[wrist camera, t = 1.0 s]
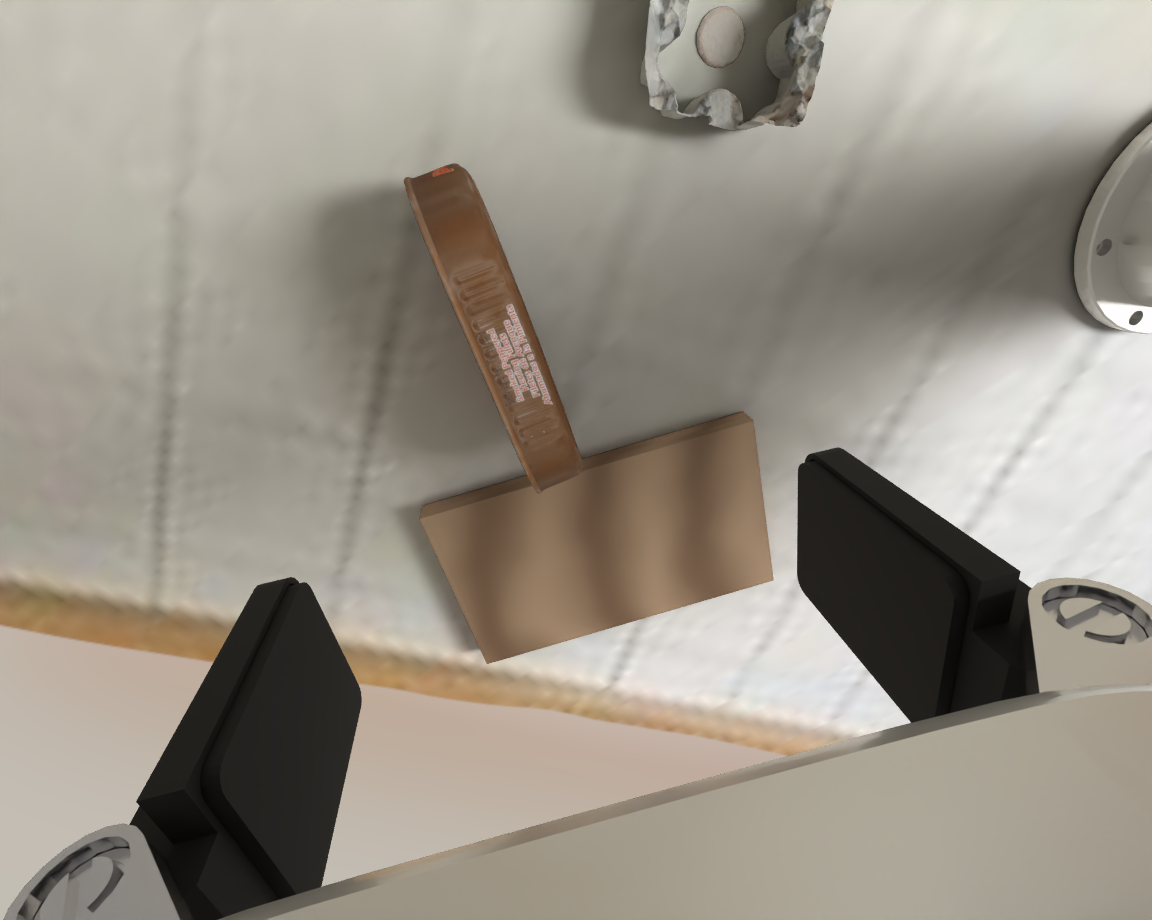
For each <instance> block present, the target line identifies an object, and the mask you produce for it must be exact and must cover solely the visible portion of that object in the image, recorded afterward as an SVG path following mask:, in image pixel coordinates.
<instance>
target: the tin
mask: <svg viewBox="0 0 1152 920" xmlns="http://www.w3.org/2000/svg"><path fill="white" fill-rule="evenodd" d="M404 184H405V187H406V191H407V194H408V198H409V200H410V205H411V207H412V210H413V212H414V215H415V217H416V220H417V222H418V225H419V227H420V230H421V232H422V235H423V238H424V240H425V243H426V246H427V248H428V250H429V253H430V255H431V257H432V259H433V262H434V265H435V267H436V269H437V272H438V275H439V276H440V278H441V281H442V283H443V286H444V288H445V291H446V293H447V295H448V298H449V300H450V302H451V304H452V306H453V309H454V311H455V314H456V316H457V318H458V320H459V323H460V325H461V327H462V329H463V332H464V334H465V337H466V339H467V341H468V343H469V346H470V348H471V350H472V352H473V354H474V357H475V359H476V362H477V363H478V366H479V368H480V370H481V372H482V375H483V377H484V380H485V382H486V384H487V386H488V389H489V391H490V393H491V395H492V398H493V400H494V402H495V404H496V407H497V409H498V412H499V414H500V416H501V418H502V421H503V423H504V425H505V427H506V430H507V432H508V435H509V437H510V439H511V442H512V444H513V446H514V448H515V451H516V453H517V455H518V458H519V460H520V462H521V464H522V466H523V468H524V470H525V472H526V474H527V476H528V479H529V481H530V482H531V484H532V486H533V488H534V490H535V491H536V493H538V494H540V493H541V492H542V491H543V490H545V489H547V488H549V487H552V486H554V485H557V484H559V483H561V482H564V481H566V480H569V479H571V478H573V477H575V476H577V475H579V474H580V473H582V471H583V464H582V460H581V456H580V453H579V450H578V447H577V445H576V442H575V439H574V436H573V433H572V430H571V428H570V425H569V422H568V419H567V416H566V414H565V411H564V408H563V406H562V403H561V400H560V397H559V395H558V392H557V389H556V387H555V384H554V381H553V378H552V376H551V373H550V370H549V368H548V365H547V362H546V359H545V357H544V354H543V351H542V349H541V346H540V343H539V341H538V338H537V335H536V333H535V330H534V328H533V325H532V323H531V320H530V317H529V315H528V312H527V310H526V307H525V305H524V302H523V299H522V297H521V294H520V292H519V290H518V287H517V284H516V282H515V279H514V277H513V274H512V272H511V269H510V266H509V264H508V261H507V259H506V256H505V254H504V251H503V249H502V246H501V244H500V241H499V239H498V236H497V234H496V231H495V229H494V226H493V224H492V221H491V219H490V217H489V214H488V212H487V209H486V207H485V205H484V202H483V200H482V198H481V196H480V193H479V191H478V189H477V187H476V185H475V183H474V181H473V179H472V177H471V176H470V174H469V173H468V172H467V171H466V169H464V168H463V167H461V166H459V165H458V164H450V165H447V166H443V167H441V168H439V169H436V170H434V171H431V172H429V173H426V174H424V175H421V176H418V177H415V178H410V177H406V178H405V179H404Z"/></svg>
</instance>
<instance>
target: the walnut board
mask: <svg viewBox="0 0 1152 920" xmlns="http://www.w3.org/2000/svg"><path fill="white" fill-rule="evenodd" d="M581 460H582V464H583V471H582V473H580V474H579V475H577V476H575V477H573V478H571V479H569V480H566V481H564V482H561V483H559V484H557V485H554V486H552V487H549V488H547V489H545V490H543V491H542V492H541V493H540V494H538V493H536V491H535V490H534V488H533V486H532V484H531V482H530V481H529V479H528V476H527V475H526V476H523V477H519V478H516V479H512V480H509V481H506V482H502V483H499V484H495V485H492V486H489V487H485V488H482V489H478V490H475V491H471V492H468V493H465V494H461V495H458V496H454V497H451V498H448V499H444V500H441V501H437V502H434V503H431V504H427V505H424V506H422V510H421V514H420V518H419V520H420V522H421V524H422V526H423V528H424V530H425V532H426V535H427V537H428V539H429V541H430V543H431V545H432V547H433V550H434V552H435V554H436V556H437V558H438V560H439V562H440V564H441V567H442V569H443V571H444V573H445V575H446V577H447V579H448V582H449V584H450V586H451V588H452V590H453V592H454V594H455V597H456V599H457V601H458V603H459V605H460V607H461V609H462V612H463V614H464V616H465V618H466V620H467V622H468V624H469V627H470V629H471V631H472V633H473V635H474V637H475V639H476V642H477V644H478V646H479V648H480V650H481V652H482V654H483V656H484V659H485V661H486V663H487V664H489V663H492V662H496V661H499V660H503V659H506V658H510V657H513V656H516V655H520V654H523V653H527V652H530V651H533V650H537V649H540V648H544V647H547V646H551V645H554V644H557V643H561V642H564V641H568V640H571V639H574V638H578V637H581V636H585V635H588V634H592V633H595V632H598V631H602V630H605V629H609V628H612V627H616V626H619V625H622V624H626V623H629V622H633V621H636V620H639V619H643V618H646V617H650V616H653V615H657V614H660V613H663V612H667V611H670V610H674V609H677V608H681V607H684V606H687V605H691V604H694V603H698V602H701V601H704V600H708V599H711V598H715V597H718V596H722V595H725V594H728V593H732V592H735V591H739V590H742V589H746V588H749V587H752V586H756V585H759V584H763V583H766V582H769V581H773V572H772V564H771V556H770V548H769V540H768V533H767V525H766V517H765V509H764V501H763V493H762V485H761V477H760V469H759V462H758V454H757V446H756V438H755V430H754V422H753V420H752V419H751V418H750V417H748V416H747V415H746V414H745V413H744V412H740V413H737V414H734V415H730V416H727V417H723V418H720V419H717V420H713V421H710V422H706V423H703V424H700V425H696V426H693V427H689V428H686V429H683V430H679V431H676V432H672V433H669V434H665V435H662V436H659V437H655V438H652V439H648V440H645V441H642V442H638V443H635V444H631V445H628V446H625V447H621V448H618V449H614V450H611V451H608V452H604V453H601V454H597V455H594V456H591V457H587V458H584V459H581Z"/></svg>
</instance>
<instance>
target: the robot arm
mask: <svg viewBox="0 0 1152 920" xmlns="http://www.w3.org/2000/svg"><path fill="white" fill-rule="evenodd" d="M1074 277H1075V282H1076V287H1077V291H1078V295H1079V297H1080V299H1081V301H1082V303H1083V305H1084V307H1085V308H1086V310H1087V311H1088V312H1089V313H1090V314H1091V315H1092V316H1093V317H1094V318H1095V319H1096V320H1098V321H1099V322H1101V323H1103V324H1105V325H1106V326H1108V327H1112V328H1116V329H1119V330H1123V331H1127V332H1133V333H1142V334H1151V333H1152V122H1151V123H1150V124H1149V125H1148V126H1147V127H1146V128H1145V129H1144V130H1143V131H1142V132H1141V133H1139V134H1138V135H1137V136H1136V137H1135V138H1134V139H1133V140H1132V141H1131V142H1130V144H1129V145H1128V146H1127V147H1126V148H1125V150H1124V151H1123V152H1122V153H1121V154H1120V155H1119V157H1118V158H1117V159H1116V160H1115V161H1114V163H1113V164H1112V166H1111V167H1110V169H1109V170H1108V172H1107V173H1106V175H1105V176H1104V178H1103V179H1102V181H1101V182H1100V184H1099V185H1098V187H1097V189H1096V191H1095V193H1094V195H1093V197H1092V199H1091V201H1090V203H1089V205H1088V207H1087V209H1086V212H1085V215H1084V218H1083V221H1082V224H1081V227H1080V230H1079V233H1078V238H1077V243H1076V249H1075V254H1074ZM797 576H798V581H799V584H800V587H801V589H802V591H803V592H804V594H805V595H806V596H807V597H808V598H809V600H810V601H811V602H812V603H813V604H814V606H815V607H816V608H817V609H818V611H819V612H820V613H821V614H822V615H823V617H824V618H825V619H826V620H827V621H828V623H829V624H830V625H831V626H832V627H833V629H834V630H835V631H836V632H837V633H838V635H839V636H840V637H841V638H842V640H843V641H844V642H845V643H846V644H847V646H848V647H849V648H850V649H851V650H852V652H853V653H854V654H855V655H856V656H857V658H858V659H859V660H860V661H861V662H862V664H863V665H864V666H865V667H866V668H867V670H868V671H869V672H870V673H871V675H872V676H873V677H874V678H875V679H876V681H877V682H878V683H879V684H880V685H881V687H882V688H883V689H884V690H885V691H886V693H887V694H888V695H889V696H890V697H891V699H892V700H893V701H894V702H895V704H896V705H897V706H898V707H899V708H900V710H901V711H902V712H903V713H904V714H905V716H906V717H907V718H908V719H909V720H910V722H911V723H909V724H905V725H901V726H897V727H894V728H890V729H886V730H883V731H879V732H875V733H871V734H868V735H864V736H860V737H857V738H853V739H849V740H846V741H842V742H838V743H835V744H831V745H827V746H823V747H820V748H816V749H812V750H809V751H805V752H801V753H798V754H794V755H790V756H786V757H783V758H779V759H776V760H772V761H768V762H764V763H761V764H757V765H753V766H750V767H746V768H742V769H738V770H735V771H731V772H727V773H724V774H720V775H717V776H713V777H709V778H706V779H702V780H699V781H695V782H691V783H688V784H684V785H680V786H677V787H673V788H670V789H666V790H662V791H659V792H655V793H651V794H648V795H644V796H641V797H637V798H633V799H630V800H626V801H622V802H619V803H615V804H612V805H608V806H605V807H601V808H597V809H594V810H590V811H587V812H583V813H579V814H576V815H572V816H569V817H565V818H561V819H558V820H554V821H551V822H547V823H543V824H540V825H536V826H533V827H529V828H525V829H522V830H518V831H515V832H512V833H508V834H504V835H501V836H497V837H494V838H490V839H487V840H483V841H479V842H476V843H473V844H469V845H465V846H462V847H458V848H455V849H451V850H448V851H444V852H441V853H437V854H434V855H430V856H426V857H423V858H419V859H416V860H412V861H409V862H405V863H402V864H398V865H395V866H391V867H388V868H384V869H381V870H377V871H373V872H370V873H367V874H363V875H360V876H357V877H353V878H350V879H346V880H343V881H340V882H337V883H333V884H330V885H326V886H323V887H321V886H322V881H323V877H324V872H325V868H326V863H327V858H328V854H329V849H330V845H331V840H332V836H333V831H334V827H335V822H336V817H337V813H338V808H339V804H340V800H341V795H342V791H343V785H344V782H345V777H346V772H347V768H348V763H349V759H350V754H351V749H352V745H353V741H354V736H355V732H356V727H357V722H358V718H359V713H360V709H361V691H360V688H359V685H358V683H357V681H356V679H355V676H354V674H353V672H352V670H351V668H350V666H349V664H348V662H347V660H346V658H345V656H344V654H343V652H342V650H341V648H340V646H339V644H338V642H337V640H336V638H335V636H334V634H333V632H332V630H331V628H330V626H329V624H328V622H327V620H326V617H325V615H324V613H323V611H322V609H321V607H320V605H319V603H318V601H317V599H316V597H315V595H314V593H313V591H312V589H311V587H310V586H309V585H308V584H307V583H305V582H303V583H299V582H298V581H297V580H296V579H295V578H292V577H290V578H286V579H281V580H277V581H273V582H269V583H264V584H261V585H258V586H257V587H256V588H255V589H254V591H253V593H252V595H251V596H250V598H249V600H248V602H247V604H246V605H245V607H244V609H243V611H242V613H241V614H240V616H239V618H238V620H237V621H236V623H235V625H234V627H233V629H232V630H231V632H230V634H229V636H228V638H227V639H226V641H225V643H224V645H223V647H222V648H221V650H220V652H219V654H218V656H217V657H216V659H215V661H214V663H213V665H212V666H211V668H210V670H209V672H208V674H207V675H206V677H205V679H204V681H203V683H202V684H201V686H200V688H199V690H198V692H197V694H196V695H195V697H194V699H193V701H192V702H191V704H190V706H189V708H188V710H187V711H186V713H185V715H184V717H183V718H182V720H181V722H180V724H179V726H178V727H177V729H176V732H175V733H174V735H173V737H172V738H171V740H170V742H169V744H168V746H167V747H166V749H165V751H164V753H163V755H162V756H161V758H160V760H159V762H158V763H157V765H156V767H155V769H154V771H153V772H152V774H151V776H150V778H149V780H148V781H147V783H146V785H145V787H144V788H143V790H142V792H141V794H140V796H139V798H138V799H137V801H136V802H137V803H138V804H139V808H138V810H137V812H136V814H135V815H134V817H133V819H132V821H131V823H130V825H127V824H118V825H113V826H108V827H105V828H102V829H100V830H98V831H95V832H93V833H91V834H88V835H86V836H84V837H83V838H81V839H80V840H78V841H77V842H75V843H73V844H72V845H70V846H69V847H67V848H65V849H64V850H63V851H62V852H60V853H59V854H58V855H57V856H55V857H54V858H53V859H52V860H51V861H49V862H48V863H47V864H46V865H45V866H43V867H42V869H41V870H40V871H39V872H38V873H37V874H36V875H35V876H34V877H33V878H32V879H31V880H30V881H29V882H28V883H27V884H26V885H25V886H24V888H23V889H22V890H21V892H20V893H19V895H18V896H17V897H16V899H15V900H14V902H13V903H12V904H11V906H10V907H9V909H8V911H7V913H6V915H5V917H4V919H3V920H1152V605H1150V604H1149V603H1148V602H1146V601H1144V600H1143V599H1141V598H1139V597H1137V596H1135V595H1133V594H1132V593H1130V592H1128V591H1125V590H1122V589H1119V588H1117V587H1114V586H1111V585H1109V584H1105V583H1101V582H1096V581H1092V580H1088V579H1077V578H1057V579H1049V580H1046V581H1043V582H1040V583H1037V584H1036V585H1035V586H1034V587H1033V588H1030V587H1029V586H1027V585H1026V584H1025V583H1023V582H1022V581H1020V580H1019V576H1020V571H1019V570H1018V569H1016V568H1015V567H1013V566H1012V565H1010V564H1009V563H1007V562H1006V561H1005V560H1003V559H1002V558H1000V557H999V556H997V555H996V554H994V553H993V552H991V551H990V550H989V549H987V548H986V547H984V546H983V545H981V544H980V543H978V542H977V541H976V540H974V539H973V538H971V537H970V536H968V535H967V534H965V533H964V532H962V531H961V530H960V529H958V528H957V527H955V526H954V525H952V524H951V523H949V522H948V521H947V520H945V519H944V518H942V517H941V516H939V515H938V514H936V513H935V512H933V511H932V510H931V509H929V508H928V507H926V506H925V505H923V504H922V503H920V502H919V501H918V500H916V499H915V498H913V497H912V496H910V495H909V494H907V493H906V492H904V491H903V490H902V489H900V488H899V487H897V486H896V485H894V484H893V483H891V482H890V481H889V480H887V479H886V478H884V477H883V476H881V475H880V474H878V473H877V472H876V471H874V470H873V469H871V468H870V467H868V466H867V465H865V464H864V463H862V462H861V461H860V460H858V459H857V458H855V457H854V456H852V455H851V454H849V453H848V452H847V451H845V450H844V449H841V448H833V449H829V450H825V451H821V452H816V453H812V454H809V455H808V456H807V458H806V460H805V463H802V464H801V465H800V466H799V468H798V536H797Z"/></svg>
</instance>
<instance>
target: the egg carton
mask: <svg viewBox="0 0 1152 920" xmlns="http://www.w3.org/2000/svg"><path fill="white" fill-rule="evenodd" d="M833 1H834V0H797V8H796V13H795V14H794V15H792V16H790V17H789V18H787V19H785V20H784V21H783V22H781V23H780V24H779V25H778V26H777V27H776V28H775V29H774V30H773V32H772V33H771V35H770V36H769V38H768V41H767V44H766V62H767V65H768V68H769V70H770V71H771V72H772V73H773V75H774V76H775V77H777V78H779V79H780V84H779V89H778V94H777V98H776V100H775V102H774V103H773V104H772V105H769V106H766V107H764V108H763V109H761V110H760V111H758V112H757V113H756V115H755V116H754V117H753V119H751V120H749V121H747V122H745V123H744V122H743V110H742V107H741V103H740V101H739V100H738V98H737V97H736V96H735V95H734V94H732V93H731V92H729V91H728V90H727V89H714V90H711V91H708V92H706V93H704V94H702V95H701V96H699V97H697V98H695V99H694V100H692V101H691V102H690V103H689V104H688V106H687V107H686V109H685V110H684V112H683V113H680V112H679V111H678V110H677V109H678V107H679V106H678V104H677V100H676V92H675V91H674V89H673V88H672V87H671V86H670V85H669V83H668V82H667V81H665V80H664V78H663V77H662V76H661V74H660V73H659V70H658V66H657V58H658V54H659V53H660V52H661V51H662V50H664V49H665V48H666V47H667V46H668V45H670V44H671V43H672V42H673V41H674V40H675V39H676V38H677V37H678V36H680V33H681V31H682V30H683V28H684V25H685V22H686V15H687V6H688V3H689V0H650V5H649V16H648V27H647V37H646V50H645V57H644V58H643V62H642V67H641V75H640V82H641V84H642V85H645V86H647V87H648V89H649V95H650V106H651V107H653V108H654V109H657V110H661V114H662V116H664V117H668V118H673V119H682V118H684V117H687V116H689V117H701V116H708V118H709V125H713V126H716V127H720V128H723V129H727V130H736V129H741V130H747V129H750V128H754V127H758V126H761V125H763V124H765V123H769V124H773V125H775V126H790V127H796V126H798V125H799V124H800V123H799V122H801V121H803V119H804V117H805V115H806V108H807V104H808V102H809V101H810V99H811V97H812V94H813V90H814V87H815V79H816V76H817V74H818V71H819V68H820V62H821V58H822V52H823V47H824V43H823V42H822V41H821V39H822V35H823V32H824V28H825V25H826V22H827V19H828V16H829V14H830V11H831V8H832V5H833ZM744 30H745V29H744V26H743V23H742V20H741V18H740V16H739V14H738V13H737V12H736V11H735V10H734V9H732V8H730V7H727V6H725V7H717V8H715V9H713V10H711V11H709V13H708V14H707V15H706V16H705V17H704V18H703V20H702V22H701V24H700V26H699V28H698V31H697V38H696V42H697V49H698V52H699V54H700V56H701V58H702V59H703V61H704V62H705V63H706V64H707V65H708V66H711V67H714V68H722V67H724V66H727V65H729V64H731V63H732V62H733V61H734V60H735V59H736V58H737V56H738V55H739V54H740V51H741V49H742V46H743V44H744V36H745V34H744Z"/></svg>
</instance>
